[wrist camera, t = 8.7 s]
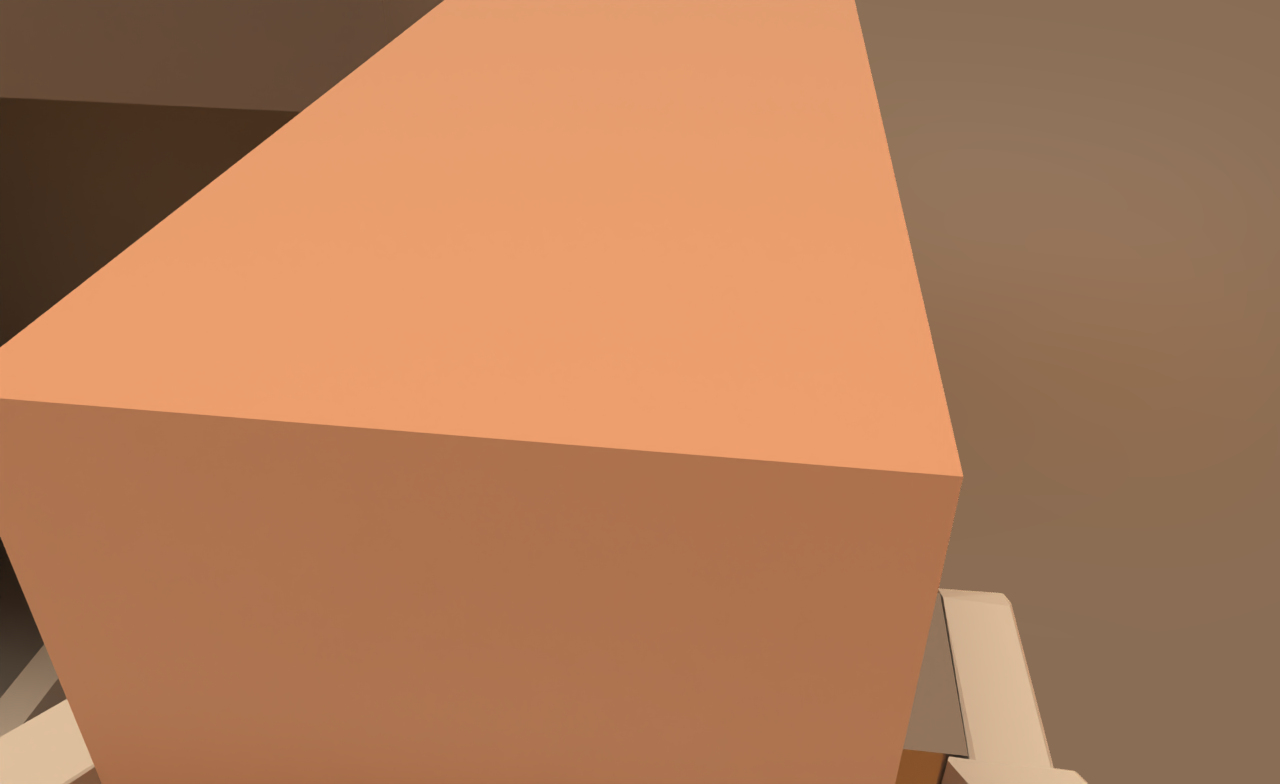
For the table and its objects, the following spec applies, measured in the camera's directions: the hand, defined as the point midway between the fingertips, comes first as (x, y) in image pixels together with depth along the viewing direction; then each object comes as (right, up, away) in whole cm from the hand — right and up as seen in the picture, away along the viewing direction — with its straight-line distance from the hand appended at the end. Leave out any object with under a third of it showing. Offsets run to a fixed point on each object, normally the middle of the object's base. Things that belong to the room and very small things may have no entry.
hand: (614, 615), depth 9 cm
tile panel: (0, -4, +4) cm, 6 cm away
